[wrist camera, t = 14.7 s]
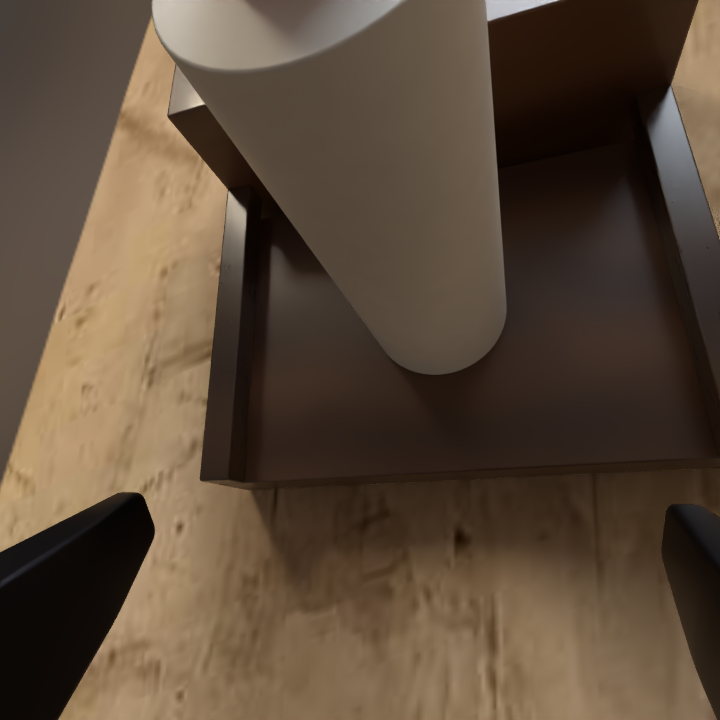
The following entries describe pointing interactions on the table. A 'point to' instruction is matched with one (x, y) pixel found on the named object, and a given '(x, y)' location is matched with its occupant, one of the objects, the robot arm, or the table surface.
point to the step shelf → (522, 285)
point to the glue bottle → (368, 151)
